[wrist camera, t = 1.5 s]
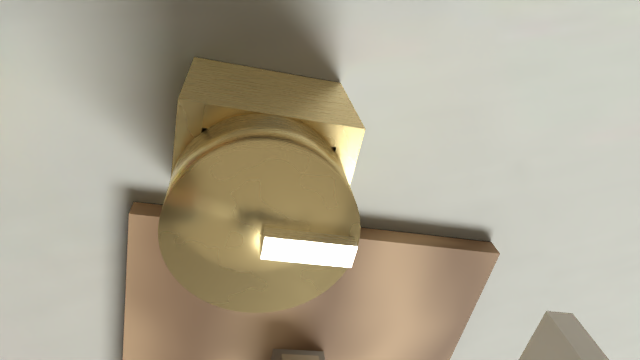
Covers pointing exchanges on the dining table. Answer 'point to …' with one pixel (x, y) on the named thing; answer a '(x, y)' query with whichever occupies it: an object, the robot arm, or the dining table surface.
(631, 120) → the dining table surface
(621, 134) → the dining table surface
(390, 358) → the plate
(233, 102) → the knob
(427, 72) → the dining table surface
